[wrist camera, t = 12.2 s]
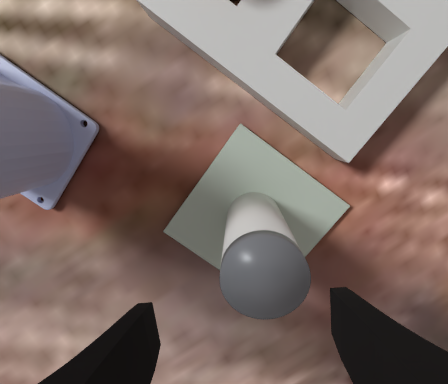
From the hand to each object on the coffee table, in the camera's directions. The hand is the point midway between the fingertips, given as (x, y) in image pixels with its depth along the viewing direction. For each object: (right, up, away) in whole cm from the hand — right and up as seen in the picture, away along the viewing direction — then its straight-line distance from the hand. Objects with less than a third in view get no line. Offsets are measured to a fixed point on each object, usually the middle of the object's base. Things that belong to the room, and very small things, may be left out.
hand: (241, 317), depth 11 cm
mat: (+2, +3, +10) cm, 10 cm away
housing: (+4, +16, +7) cm, 18 cm away
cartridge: (+2, +3, +9) cm, 10 cm away
